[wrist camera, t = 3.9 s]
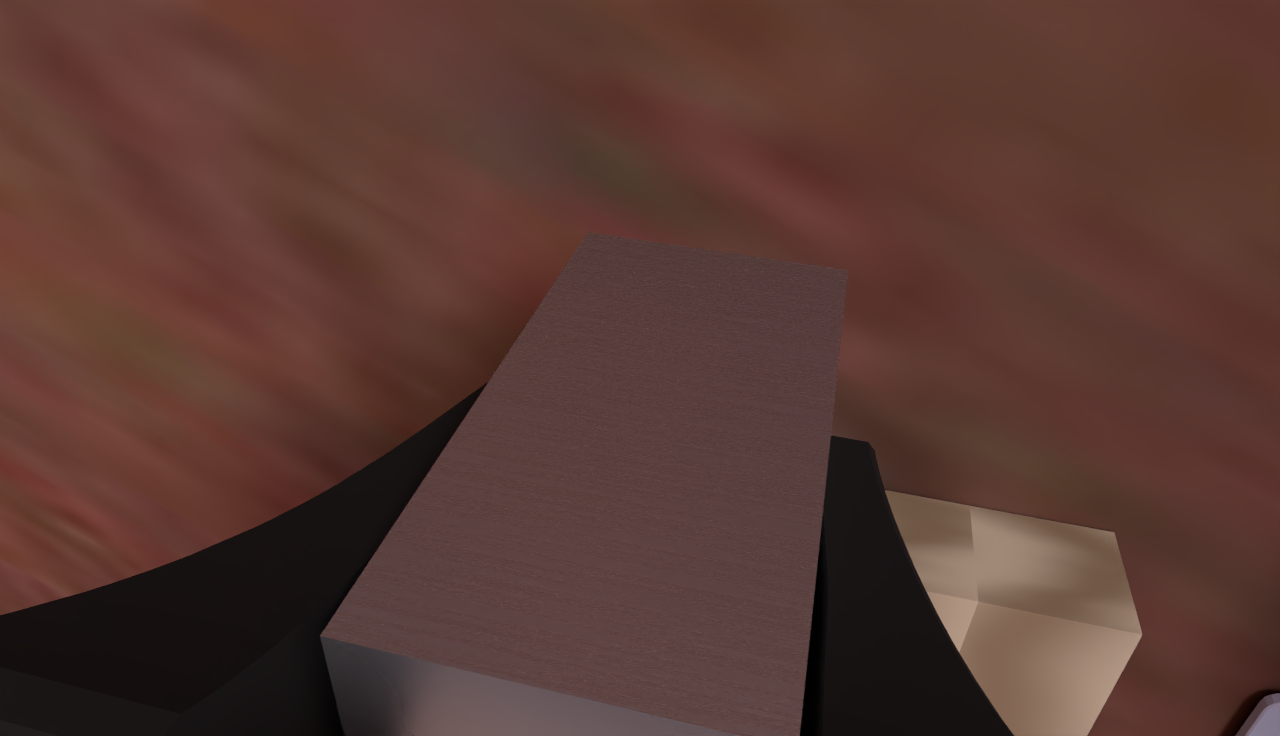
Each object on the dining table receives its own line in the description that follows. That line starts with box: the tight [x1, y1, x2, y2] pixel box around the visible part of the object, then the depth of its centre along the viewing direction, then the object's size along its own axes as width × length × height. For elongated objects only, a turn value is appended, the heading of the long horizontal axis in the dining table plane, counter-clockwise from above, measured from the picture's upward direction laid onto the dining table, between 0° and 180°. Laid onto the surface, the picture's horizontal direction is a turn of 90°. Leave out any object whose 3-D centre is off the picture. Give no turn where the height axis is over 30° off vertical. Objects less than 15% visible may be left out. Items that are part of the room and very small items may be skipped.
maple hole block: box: [885, 490, 1142, 736], centre depth 28 cm, size 13×13×4 cm
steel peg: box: [320, 233, 848, 736], centre depth 12 cm, size 4×4×8 cm
